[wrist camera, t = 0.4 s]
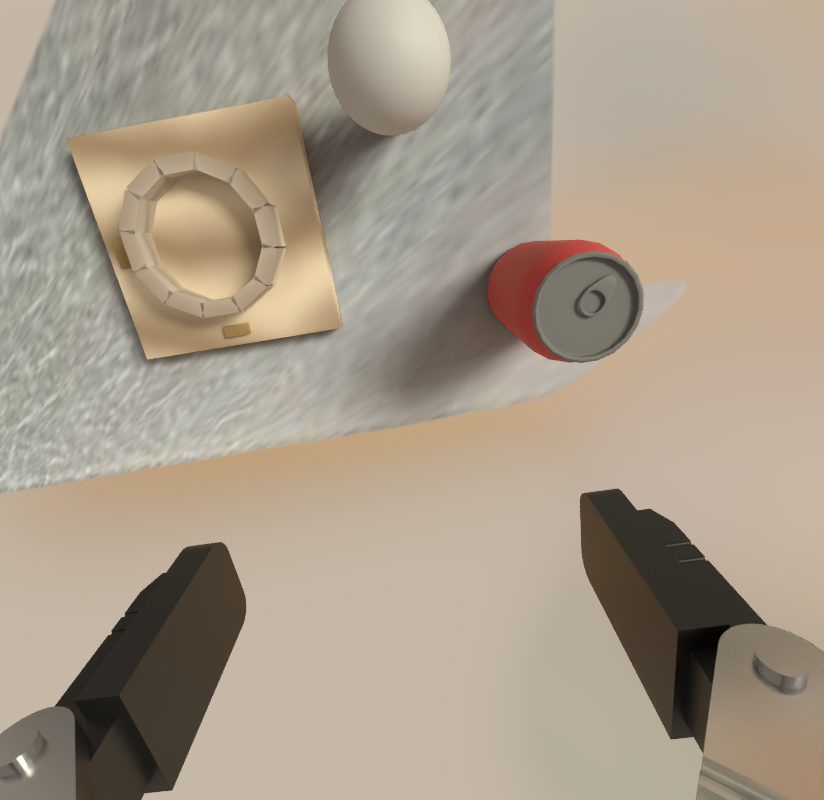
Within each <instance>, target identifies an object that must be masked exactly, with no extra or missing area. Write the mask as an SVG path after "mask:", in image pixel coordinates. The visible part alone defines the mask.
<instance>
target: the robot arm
mask: <svg viewBox="0 0 824 800" xmlns="http://www.w3.org/2000/svg"><path fill="white" fill-rule="evenodd" d="M580 518H581V549H582V558H583V563H584V567H585V570H586V574H587V576H588V579H589V581H590V583H591V585H592V587H593V589H594V591H595V593H596V595H597V597H598V599H599V601H600V603H601V604H602V606H603V608H604V610H605V612H606V614H607V616H608V618H609V620H610V622H611V624H612V626H613V628H614V630H615V632H616V634H617V635H618V637H619V639H620V641H621V643H622V645H623V647H624V649H625V651H626V653H627V655H628V657H629V659H630V661H631V663H632V665H633V667H634V669H635V670H636V673H637V674H638V677H639V678H640V680H641V682H642V684H643V686H644V688H645V690H646V692H647V694H648V696H649V698H650V700H651V702H652V704H653V706H654V708H655V710H656V711H657V714H658V715H659V717H660V719H661V721H662V723H663V725H664V727H665V729H666V731H667V733H668V735H669V737H670V739H678V738H687V737H694V738H695V740H696V742H697V743H698V745H699V747H700V749H701V750H702V752H703V759H702V766H701V771H700V774H699V781H698V788H697V795H696V800H824V652H823V651H822V650H821V649H819V648H818V647H816V646H815V645H814V644H812V643H811V642H809V641H807V640H805V639H804V638H802V637H800V636H797V635H795V634H793V633H791V632H788V631H786V630H783V629H780V628H777V627H772V626H768V625H767V624H766V623H765V622H764V621H763V620H762V619H761V618H760V617H759V616H758V615H757V614H756V612H755V611H754V610H753V609H752V608H751V607H750V606H749V605H748V604H747V603H746V601H745V600H744V599H743V598H742V597H741V596H740V595H739V594H738V593H737V592H736V590H734V588H733V587H732V586H731V585H730V584H729V583H728V582H727V581H726V579H725V578H724V577H723V576H722V575H721V574H720V573H719V572H718V571H717V570H716V568H715V567H714V566H713V565H712V564H711V563H710V562H709V561H706V560H705V557H704V555H703V554H702V553H701V552H700V551H699V550H698V549H697V548H696V547H695V545H692V544H691V542H690V540H689V539H688V538H687V537H686V535H685V534H684V533H683V532H682V531H681V530H680V529H679V528H678V527H677V526H676V525H675V523H674V522H672V521H670V520H668V519H667V518H665V517H663V516H661V515H660V514H658V513H656V512H655V511H653V510H651V509H646V510H638V511H637V510H636V508H635V507H634V506H633V505H632V504H631V502H630V501H629V500H628V499H627V497H626V496H625V495H624V494H623V493H622V491H621V490H619V489H611V490H604V491H596V492H589V493H583V494H582V495H581V497H580ZM245 615H246V598H245V594H244V591H243V588H242V586H241V583H240V580H239V578H238V575H237V572H236V570H235V567H234V564H233V562H232V559H231V557H230V554H229V551H228V549H227V547H226V545H224V544H223V543H221V542H218V543H211V544H204V545H196V546H189V547H186V548H185V549H183V550H182V552H181V553H180V554H179V556H178V557H177V559H176V560H175V561H174V563H173V564H172V565H171V567H170V568H169V570H168V571H167V572H166V573H163V574H161V575H160V576H159V577H158V578H157V579H155V580H154V581H153V582H152V583H151V584H150V585H148V586H147V587H146V588H145V589H144V590H143V591H141V592H140V594H139V595H138V596H137V598H136V599H135V600H134V602H133V603H132V604H131V606H130V607H129V608H128V610H127V611H126V612H125V617H122V618H121V619H120V620H119V621H118V623H117V624H116V625H115V627H114V628H113V630H112V634H111V635H108V636H107V638H106V639H105V640H104V642H103V643H102V644H101V645H100V647H99V648H98V649H97V651H96V652H95V654H94V655H93V656H92V658H91V659H90V660H89V661H88V663H87V664H86V666H85V667H84V668H83V669H82V671H81V672H80V674H79V675H78V676H77V677H76V679H75V680H74V682H73V683H72V684H71V685H70V687H69V688H68V689H67V691H66V692H65V693H64V695H63V696H62V697H61V699H60V700H59V701H58V703H57V704H56V705H55V707H50V708H46V709H43V710H40V711H37V712H35V713H33V714H31V715H29V716H27V717H25V718H23V719H21V720H20V721H18V722H16V723H15V724H13V725H12V726H11V727H9V728H8V729H6V730H5V731H4V732H2V733H1V734H0V800H141V799H142V797H143V795H144V793H151V792H160V791H170V790H173V787H174V785H175V782H176V780H177V778H178V775H179V773H180V771H181V768H182V766H183V764H184V762H185V759H186V757H187V755H188V752H189V750H190V747H191V745H192V743H193V740H194V738H195V736H196V733H197V731H198V729H199V726H200V724H201V722H202V719H203V717H204V715H205V712H206V710H207V708H208V705H209V703H210V701H211V698H212V696H213V693H214V691H215V689H216V687H217V684H218V682H219V680H220V677H221V675H222V673H223V670H224V668H225V666H226V663H227V661H228V659H229V656H230V654H231V652H232V649H233V647H234V645H235V642H236V640H237V638H238V635H239V633H240V631H241V628H242V626H243V623H244V620H245Z"/></svg>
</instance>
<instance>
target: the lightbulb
mask: <svg viewBox="0 0 824 800" xmlns="http://www.w3.org/2000/svg"><path fill="white" fill-rule="evenodd" d="M450 66H451V55H450V46H449V41H448V38H447V34H446V31H445V28H444V25H443V23H442V21H441V19H440V17H439V15H438V13H437V11H436V10H435V9H434V7H433V6H432V5H431V3H430V2H429V1H428V0H348V1H347V2H346V3H345V4H344V5H343V7H342V8H341V10H340V12H339V14H338V15H337V17H336V19H335V21H334V24H333V27H332V30H331V33H330V37H329V45H328V70H329V76H330V81H331V84H332V87H333V89H334V92H335V95H336V97H337V99H338V100H339V102H340V104H341V106H342V107H343V109H344V110H345V112H346V113H347V114H348V115H349V116H350V117H351V119H352V120H354V121H355V122H356V123H357V124H359V125H360V126H361V127H363V128H365V129H367V130H369V131H371V132H373V133H377V134H380V135H390V136H395V135H401V134H406V133H408V132H410V131H413V130H415V129H417V128H418V127H420V126H421V125H423V124H424V123H425V122H427V120H428V119H429V118H430V117H431V116H432V115H433V114H434V113H435V111H436V110H437V108H438V107H439V105H440V103H441V102H442V99H443V97H444V94H445V92H446V89H447V85H448V80H449V75H450Z"/></svg>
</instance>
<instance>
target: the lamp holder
mask: <svg viewBox="0 0 824 800" xmlns="http://www.w3.org/2000/svg"><path fill="white" fill-rule="evenodd" d="M66 140H67V142H68V145H69V148H70V151H71V153H72V156H73V159H74V162H75V164H76V167H77V170H78V172H79V175H80V178H81V181H82V183H83V186H84V189H85V191H86V194H87V197H88V200H89V202H90V205H91V208H92V211H93V213H94V216H95V219H96V221H97V224H98V227H99V230H100V232H101V235H102V238H103V241H104V243H105V246H106V249H107V251H108V254H109V257H110V260H111V262H112V265H113V268H114V271H115V273H116V276H117V279H118V281H119V284H120V287H121V290H122V292H123V295H124V298H125V301H126V303H127V306H128V309H129V311H130V314H131V317H132V320H133V322H134V325H135V328H136V330H137V333H138V336H139V339H140V341H141V344H142V347H143V350H144V352H145V355H146V358H147V360H148V359H154V358H160V357H166V356H172V355H178V354H185V353H191V352H197V351H203V350H209V349H215V348H221V347H228V346H234V345H240V344H246V343H252V342H258V341H264V340H271V339H277V338H283V337H289V336H295V335H301V334H307V333H314V332H320V331H326V330H332V329H338V328H340V327H341V326H342V325H343V324H342V319H341V314H340V310H339V305H338V300H337V296H336V291H335V286H334V282H333V277H332V272H331V267H330V263H329V258H328V253H327V249H326V244H325V239H324V235H323V230H322V225H321V221H320V216H319V211H318V206H317V202H316V197H315V192H314V188H313V183H312V178H311V174H310V169H309V164H308V160H307V155H306V150H305V145H304V141H303V136H302V131H301V127H300V122H299V117H298V113H297V108H296V103H295V102H294V100H293V99H292V98H291V97H290V96H285V97H280V98H274V99H269V100H264V101H259V102H254V103H248V104H243V105H238V106H233V107H228V108H222V109H217V110H212V111H207V112H202V113H196V114H191V115H186V116H181V117H176V118H170V119H165V120H160V121H155V122H150V123H144V124H139V125H134V126H129V127H124V128H119V129H113V130H108V131H103V132H98V133H93V134H87V135H82V136H77V137H72V138H67V139H66Z"/></svg>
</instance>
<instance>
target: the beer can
mask: <svg viewBox="0 0 824 800" xmlns="http://www.w3.org/2000/svg"><path fill="white" fill-rule="evenodd" d="M487 293H488V303H489V305H490V307H491V309H492V312H493V314H494V315H495V316H496V317H497V319H498V320H499V321H500V322H501V323H502V324H503V325H504V326H505V327H507V328H508V329H509V330H510V331H511V332H512V333H513V334H515V335H516V336H517V337H518V338H519V339H520V340H521V341H523V342H524V343H525V344H526V345H527V346H528V347H529V348H531V349H532V350H533V351H534V352H536V353H538V354H540V355H542V356H544V357H546V358H548V359H551V360H557V361H564V362H579V363H583V362H589V361H596V360H599V359H601V358H604V357H606V356H608V355H610V354H612V353H614V352H615V351H616V350H618V349H619V348H620V347H621V346H622V345H623V344H625V343H626V342H627V341H628V340H629V338H630V337H631V335H632V334H633V332H634V331H635V329H636V328H637V326H638V324H639V320H640V317H641V314H642V311H643V288H642V285H641V283H640V280H639V276H638V274H637V273H636V272H635V271H634V269H633V268H632V267H631V266H630V265H629V263H628V262H627V261H625V260H623V259H622V258H621V256H620V255H619V254H617V253H615V252H614V251H612V250H611V249H609V248H607V247H605V246H604V245H602V244H600V243H596V242H590V241H584V240H561V241H534V242H528V243H522V244H519V245H517V246H516V247H514V248H512V249H510V250H508V251H507V252H506V253H505V254H504V255H503V256H502V257H501V258H500V259H499V260H498V261H497V262H496V264H495V266H494V268H493V270H492V271H491V273H490V276H489V281H488V286H487Z"/></svg>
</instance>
